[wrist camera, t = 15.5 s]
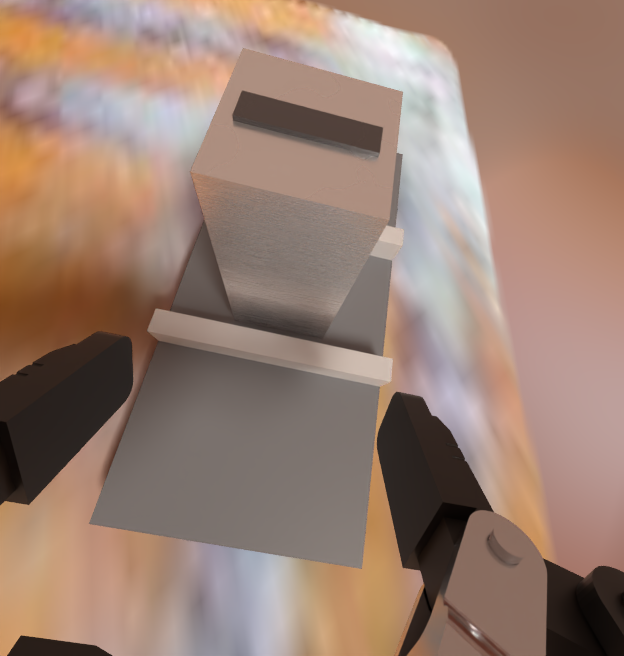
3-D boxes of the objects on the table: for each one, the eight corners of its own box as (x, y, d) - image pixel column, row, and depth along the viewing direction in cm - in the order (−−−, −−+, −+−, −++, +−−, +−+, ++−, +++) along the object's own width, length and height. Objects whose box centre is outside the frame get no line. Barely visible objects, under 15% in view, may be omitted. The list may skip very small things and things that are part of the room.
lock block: (234, 319, 17) (188, 166, 7) (256, 245, 18) (242, 42, 9) (322, 338, 17) (391, 216, 7) (335, 263, 19) (404, 87, 9)
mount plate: (111, 512, 15) (65, 535, 11) (246, 138, 24) (243, 89, 20) (350, 552, 15) (373, 585, 12) (392, 175, 24) (411, 134, 21)
